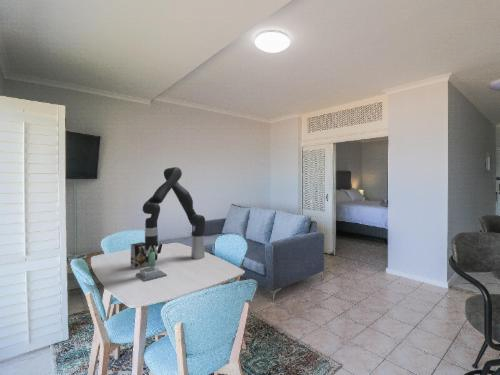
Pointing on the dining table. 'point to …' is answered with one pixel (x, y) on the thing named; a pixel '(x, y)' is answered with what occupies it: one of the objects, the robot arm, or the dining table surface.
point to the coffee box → (137, 256)
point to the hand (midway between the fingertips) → (151, 261)
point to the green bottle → (151, 258)
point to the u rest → (150, 273)
